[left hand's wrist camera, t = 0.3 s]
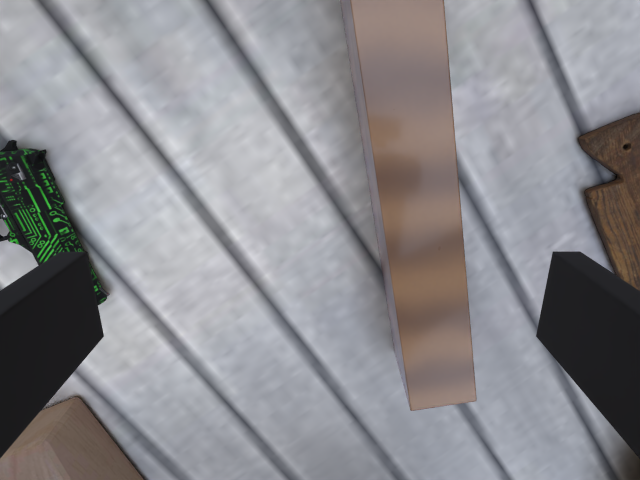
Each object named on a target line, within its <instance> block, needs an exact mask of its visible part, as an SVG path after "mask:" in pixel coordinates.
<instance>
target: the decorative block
mask: <svg viewBox="0 0 640 480" xmlns="http://www.w3.org/2000/svg"><path fill="white" fill-rule="evenodd" d="M0 480H144V479H143V478H142V477H141V475H140V474H139V473H138V471H137V470H136V469H135V468H134V466H133V465H132V464H131V463H130V461H129V460H128V459H127V457H126V456H125V455H124V454H123V452H122V451H121V450H120V449H119V447H118V446H117V445H116V443H115V442H114V441H113V440H112V438H111V437H110V436H109V435H108V433H107V432H106V431H105V429H104V428H103V427H102V426H101V424H100V423H99V422H98V421H97V419H96V418H95V417H94V415H93V414H92V413H91V412H90V410H89V409H88V408H87V407H86V405H85V404H84V403H83V401H82V400H81V399H79V398H78V397H74V398H72V399H69V400H67V401H64V402H62V403H59V404H57V405H54V406H52V407H49V408H47V409H44V410H42V411H40V412H39V413H38V415H37V416H36V417H35V418H34V419H33V420H32V422H31V423H30V424H29V425H28V426H27V428H26V429H25V430H24V431H23V432H22V433H21V435H20V436H19V437H18V438H17V439H16V440H15V442H14V443H13V444H12V445H11V446H10V448H9V449H8V450H7V451H6V452H5V453H4V455H3V456H2V457H1V458H0Z"/></svg>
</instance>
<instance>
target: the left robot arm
mask: <svg viewBox="0 0 640 480" xmlns="http://www.w3.org/2000/svg"><path fill="white" fill-rule="evenodd" d="M103 337H104V335H103V330H102V325H101V320H100V315H99V310H98V304H97V299H96V294H95V289H94V284H93V279H92V274H91V269H90V264H89V259H88V254H87V252H59V253H57V254H56V255H54V256H53V257H51V258H50V259H48V260H47V261H45V262H44V263H42V264H40V265H39V266H37V267H36V268H34V269H33V270H31V271H30V272H28V273H27V274H25V275H24V276H22V277H21V278H19V279H18V280H16V281H15V282H13V283H12V284H10V285H9V286H7V287H5V288H4V289H2V290H1V291H0V458H1V457H2V456H3V455H4V453H5V452H6V451H7V450H8V449H9V448H10V446H11V445H12V444H13V443H14V442H15V440H16V439H17V438H18V437H19V436H20V435H21V433H22V432H23V431H24V430H25V429H26V428H27V426H28V425H29V424H30V423H31V422H32V420H33V419H34V418H35V417H36V416H37V415H38V413H39V412H40V411H41V410H42V409H43V407H44V406H45V405H46V404H47V403H48V402H49V400H50V399H51V398H52V397H53V396H54V394H55V393H56V392H57V391H58V390H59V389H60V387H61V386H62V385H63V384H64V383H65V381H66V380H67V379H68V378H69V377H70V376H71V374H72V373H73V372H74V371H75V370H76V368H77V367H78V366H79V365H80V364H81V363H82V361H83V360H84V359H85V358H86V357H87V355H88V354H89V353H90V352H91V351H92V350H93V348H94V347H95V346H96V345H97V344H98V342H99V341H100V340H101V339H102V338H103ZM536 337H537V338H538V339H539V340H540V341H541V342H542V344H543V345H544V346H545V347H546V348H547V350H548V351H549V352H550V353H551V354H552V355H553V357H554V358H555V359H556V360H557V361H558V363H559V364H560V365H561V366H562V367H563V368H564V370H565V371H566V372H567V373H568V374H569V376H570V377H571V378H572V379H573V380H574V381H575V383H576V384H577V385H578V386H579V387H580V389H581V390H582V391H583V392H584V393H585V394H586V396H587V397H588V398H589V399H590V400H591V402H592V403H593V404H594V405H595V406H596V407H597V409H598V410H599V411H600V412H601V413H602V415H603V416H604V417H605V418H606V419H607V420H608V422H609V423H610V424H611V425H612V426H613V428H614V429H615V430H616V431H617V432H618V433H619V435H620V436H621V437H622V438H623V439H624V440H625V442H626V443H627V444H628V445H629V446H630V448H631V449H632V450H633V451H634V452H635V453H636V455H637V456H638V457H639V458H640V291H639V290H638V289H636V288H635V287H633V286H631V285H630V284H628V283H627V282H625V281H624V280H622V279H621V278H619V277H618V276H616V275H615V274H613V273H612V272H610V271H609V270H607V269H606V268H604V267H603V266H601V265H600V264H598V263H596V262H595V261H593V260H592V259H590V258H589V257H587V256H586V255H584V254H583V253H581V252H553V254H552V259H551V264H550V269H549V274H548V279H547V284H546V289H545V294H544V299H543V304H542V310H541V315H540V320H539V325H538V330H537V335H536Z"/></svg>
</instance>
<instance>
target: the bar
mask: <svg viewBox="0 0 640 480" xmlns="http://www.w3.org/2000/svg"><path fill="white" fill-rule="evenodd" d="M340 1H341V8H342V14H343V21H344V27H345V34H346V40H347V47H348V53H349V60H350V66H351V73H352V79H353V86H354V92H355V98H356V105H357V111H358V118H359V124H360V131H361V137H362V144H363V150H364V157H365V163H366V170H367V176H368V183H369V189H370V196H371V202H372V209H373V215H374V221H375V228H376V234H377V241H378V247H379V254H380V260H381V267H382V273H383V280H384V286H385V293H386V299H387V306H388V312H389V319H390V325H391V332H392V338H393V345H394V351H395V355H396V359H397V363H398V366H399V370H400V374H401V377H402V381H403V385H404V388H405V392H406V395H407V399H408V403H409V406H410V410H411V411H414V410H421V409H427V408H434V407H440V406H447V405H454V404H460V403H467V402H474V401H476V388H475V376H474V364H473V351H472V339H471V327H470V315H469V303H468V290H467V278H466V266H465V254H464V242H463V229H462V217H461V205H460V193H459V180H458V168H457V156H456V144H455V132H454V119H453V107H452V95H451V83H450V71H449V58H448V46H447V34H446V22H445V10H444V0H340Z"/></svg>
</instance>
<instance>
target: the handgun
mask: <svg viewBox="0 0 640 480" xmlns="http://www.w3.org/2000/svg"><path fill="white" fill-rule="evenodd" d="M16 142H17V141H15V140H11V141H9V142H8V143H7V145H6V147H5V148H4V149H2V150H1V151H0V219H3V220H4V222H5V223H6V225H7V227H8V229H9V230H10V231H9V233H8V235H7V236H4V237H3V236H1V235H0V241H4V240H8V241H9V242H12V243H16V244H19V245H21V246H22V247H24V248H25V249H27V250H29V251H30V252H32V254H33V256H34V257H35V259H36V261H37V263H38V265H40V264H42V263H44V262H45V261H47V260H48V259H50V258H51V257H53V256H54V255H56V254H57V253H59V252H84V250H83V248H82V246H81V244H80V242H79V240H78V238H77V236H76V234H75V232H74V230H73V228H72V226H71V224H70V222H69V220H68V218H67V216H66V214H65V212H64V210H63V208H62V206H61V205H62V204H63V203H65V202H64V200H63V198H62V196H61V194H60V192H59V190H58V188H57V186H56V184H55V178H54V176H53V174H52V172H51V170H50V168H49V166H48V164H47V162H46V160H45V155H46V149H45V150H41V151H39V150H35V149H18V148H17V146H16ZM89 264H90V262H89ZM90 269H91V274H92V279H93V284H94V289H95V294H96V299H97V304H98V305H99V304H101V303H103V302H104V301H105V300H106V299H107V296H109V295H110V294H109V293H107V292H106V291H105V290H103V288H102V286H101V284H100V282H99V280H98V278H97V277H96V275H95V273H94V271H93V269H92V266H91V264H90Z"/></svg>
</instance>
